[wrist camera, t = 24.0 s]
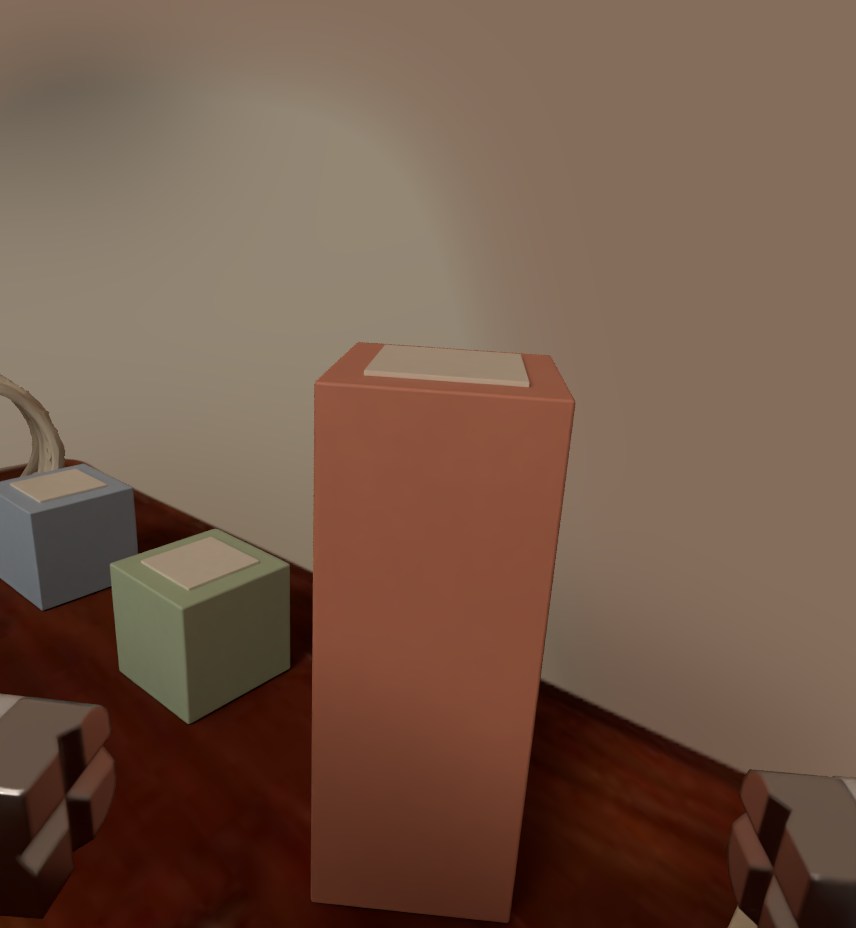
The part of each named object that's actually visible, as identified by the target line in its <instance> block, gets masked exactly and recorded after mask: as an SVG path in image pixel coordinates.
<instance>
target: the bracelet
mask: <svg viewBox="0 0 856 928" xmlns="http://www.w3.org/2000/svg"><path fill="white" fill-rule="evenodd" d="M0 395H2V396H5V397H7V398H9V399H11V400H12V402H13V403H14V404H15V405H16V406H17V408H19V410H20V411H21V413H22V415H23V416H24V418H25V419H26V421H27V423H28V425H29V428H30V432H31V435H32V454H31V458H30V460H29V463H28V465H27V467H26V468H25V470H24V472H23V473H22V475H21V476H20V477H24V476H29V475H34V474H38V473H43V472H48V471H52V470H57V469H61V468H64V463H65V458H64V456H65V450H64V445H63V443H62V441H61V440H60V437H59V434H58V430H57V429H56V428H55V427H54V425H53V424H52V422H51V419H50V417H49V412H48V411H46V410H45V408H44V407H43V406H42V405H41V403H40V402H39V401H38V400H36V399H35V398H34V397H33V396H32V395H31V394H30V393H29V392H28V391H26V390H24V389H23V388H22V387H19V386H18V385H16V384H15V383H13V382H12V381H11V380H9V379H7V378H6V377H4V376H2V375H0ZM37 471H38V472H37Z"/></svg>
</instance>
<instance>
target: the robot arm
mask: <svg viewBox="0 0 856 928" xmlns="http://www.w3.org/2000/svg"><path fill="white" fill-rule="evenodd" d="M111 733H112V729H111V722H110V715H109V711H108V710H107V709H106V708H104V707H103V706H101V705H94V704H86V703H78V702H70V701H62V700H53V699H45V698H37V697H24V696H16V695H7V694H0V916H11V917H23V918H35V919H43V918H44V916H45V914H46V913H47V911H48V910H49V908H50V907H51V905H52V904H53V902H54V901H55V899H56V897H57V896H58V894H59V893H60V891H61V890H62V888H63V887H64V885H65V883H66V882H67V880H68V879H69V877H70V876H71V874H72V873H73V871H74V862H73V854H72V852H74V851H76V850H77V849H79V848H80V847H82V846H84V845H85V844H87V843H88V842H90V841H91V840H93V839H94V838H95V836H96V835H97V833H98V831H99V830H100V828H101V827H102V825H103V823H104V822H105V820H106V818H107V815H108V812H109V809H110V806H111V803H112V800H113V797H114V792H115V783H116V767H115V760H114V759H113V758H112V757H111V755H110V754H109V753H108V752H107V751H106V749H105V748H104V747H103V746H102V745H103V744H104V743H105V741H106V740H107V739H108V737H109V736H110V734H111ZM739 796H740V799H741V801H742V803H743V806H744V808H745V810H746V812H745V813H744V814H743V815H742V816H741V817H739V818H738V819H737V820H736V821H734V822H733V823H732V825H731V830H730V835H729V840H728V845H727V853H728V872H729V877H730V882H731V886H732V890H733V893H734V896H735V898H736V901H737V904H738V907H739V909H740V910H741V911H742V912H743V913H744V914H745V915H746V916H747V917H748V918H750V919H751V920H752V921H753V922H754V923H755V924H756V925H757V928H856V778H855V777H841V776H833V777H827V776H817V775H807V774H795V773H785V772H774V771H763V770H752V769H750V770H749V771H748V772H747V774H746V775H745V777H744V778H743V781H742V785H741V789H740V792H739Z"/></svg>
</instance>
